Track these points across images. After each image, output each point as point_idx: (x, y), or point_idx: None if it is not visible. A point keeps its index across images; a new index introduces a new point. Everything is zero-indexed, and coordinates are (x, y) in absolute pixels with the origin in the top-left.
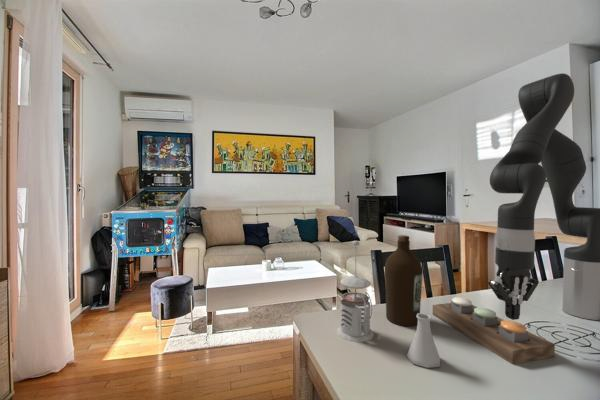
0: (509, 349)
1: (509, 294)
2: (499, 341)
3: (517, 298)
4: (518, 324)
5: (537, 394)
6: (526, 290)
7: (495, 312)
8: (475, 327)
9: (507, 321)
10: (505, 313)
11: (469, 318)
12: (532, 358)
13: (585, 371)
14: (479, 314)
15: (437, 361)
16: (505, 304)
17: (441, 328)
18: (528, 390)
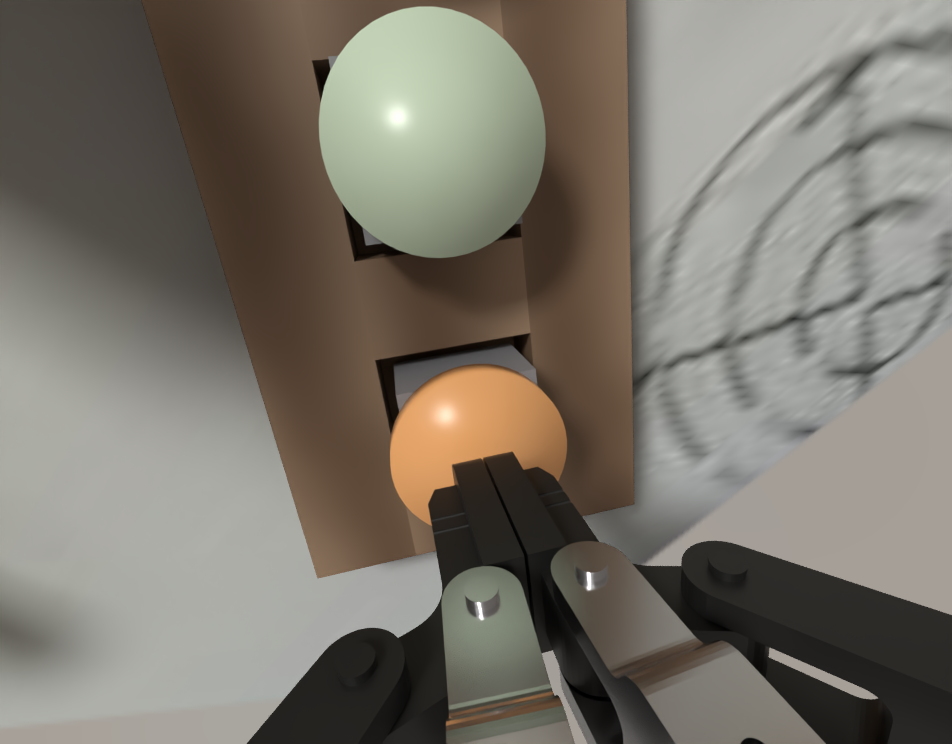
0: (313, 558)
1: (586, 633)
2: (310, 482)
3: (585, 723)
4: (535, 446)
5: (276, 698)
6: (882, 742)
7: (536, 186)
8: (256, 263)
9: (486, 396)
10: (429, 505)
11: (313, 57)
12: None
13: None
14: (334, 187)
15: None
16: (442, 576)
17: (43, 28)
18: (255, 683)
